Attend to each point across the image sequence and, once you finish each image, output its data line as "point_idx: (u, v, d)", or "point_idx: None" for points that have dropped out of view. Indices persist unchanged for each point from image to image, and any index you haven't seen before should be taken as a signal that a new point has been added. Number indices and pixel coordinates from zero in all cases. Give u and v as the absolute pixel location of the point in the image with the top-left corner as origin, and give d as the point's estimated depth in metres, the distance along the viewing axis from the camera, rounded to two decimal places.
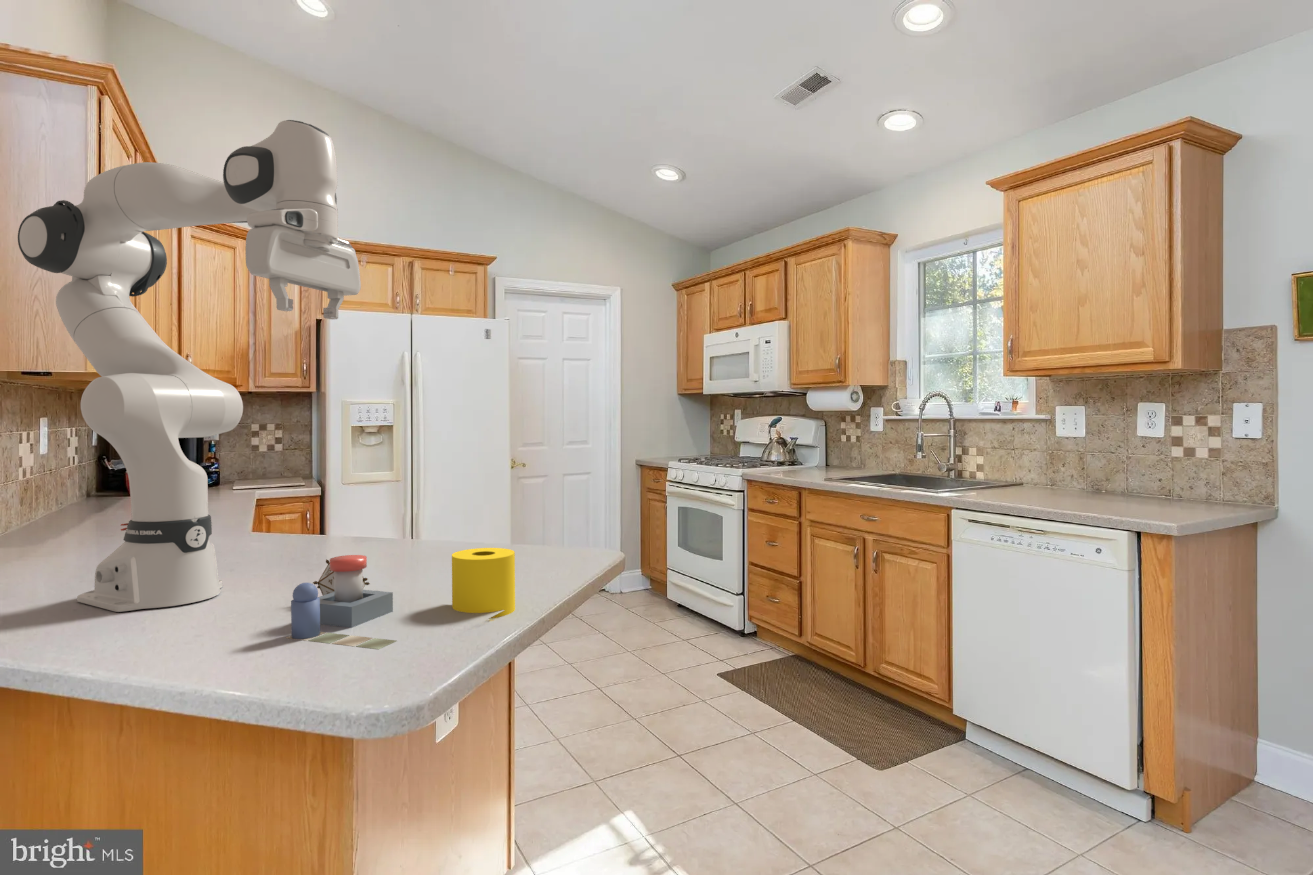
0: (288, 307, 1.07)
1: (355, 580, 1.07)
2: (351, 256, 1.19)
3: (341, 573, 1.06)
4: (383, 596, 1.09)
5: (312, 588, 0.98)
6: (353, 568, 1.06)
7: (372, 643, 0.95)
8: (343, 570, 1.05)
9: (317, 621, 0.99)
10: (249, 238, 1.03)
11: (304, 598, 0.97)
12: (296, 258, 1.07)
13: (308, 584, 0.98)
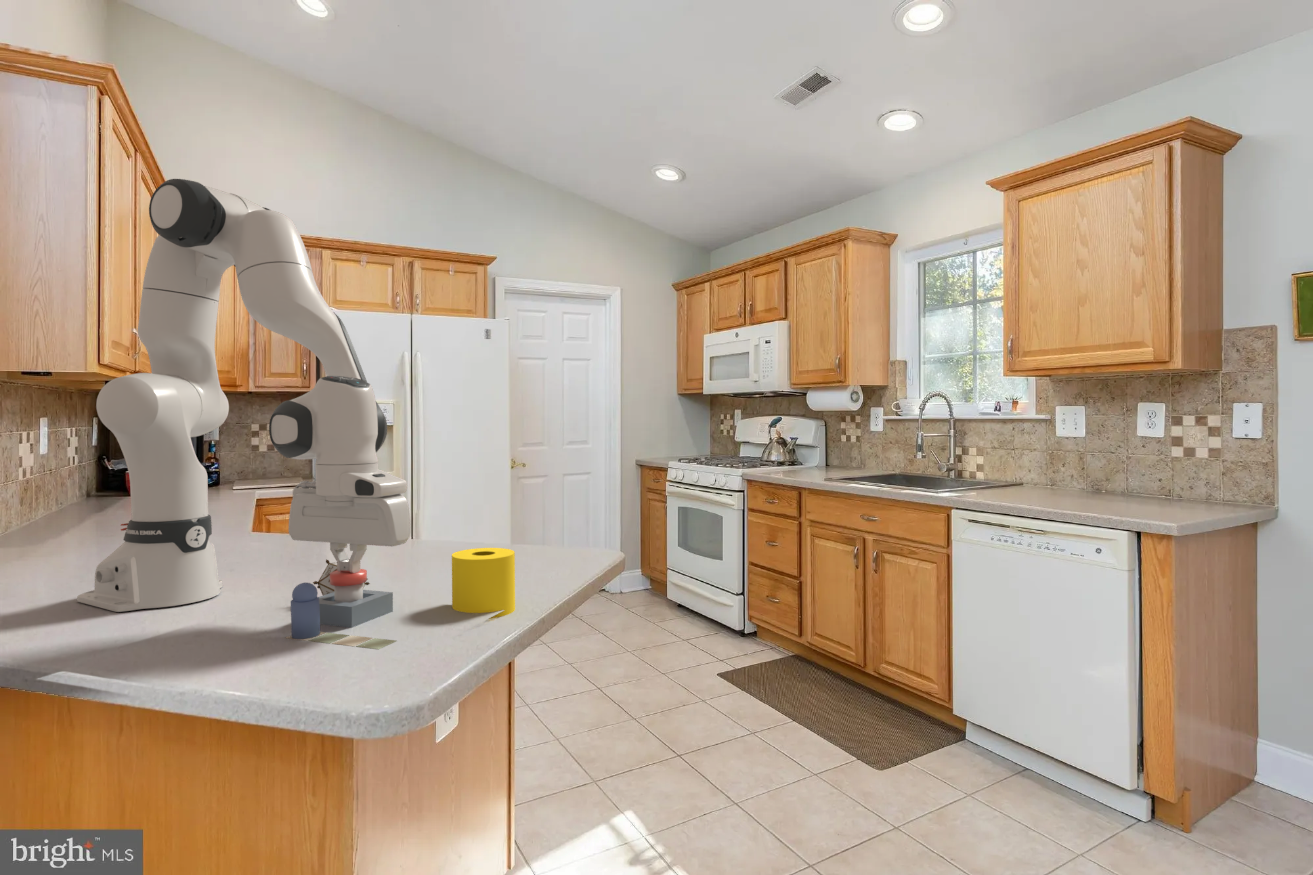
0: None
1: (355, 594, 1.07)
2: None
3: (341, 587, 1.06)
4: (383, 596, 1.09)
5: (311, 587, 0.98)
6: (353, 582, 1.06)
7: (372, 643, 0.95)
8: (343, 584, 1.05)
9: (317, 621, 0.98)
10: (394, 511, 1.03)
11: (303, 599, 0.97)
12: None
13: (307, 584, 0.98)
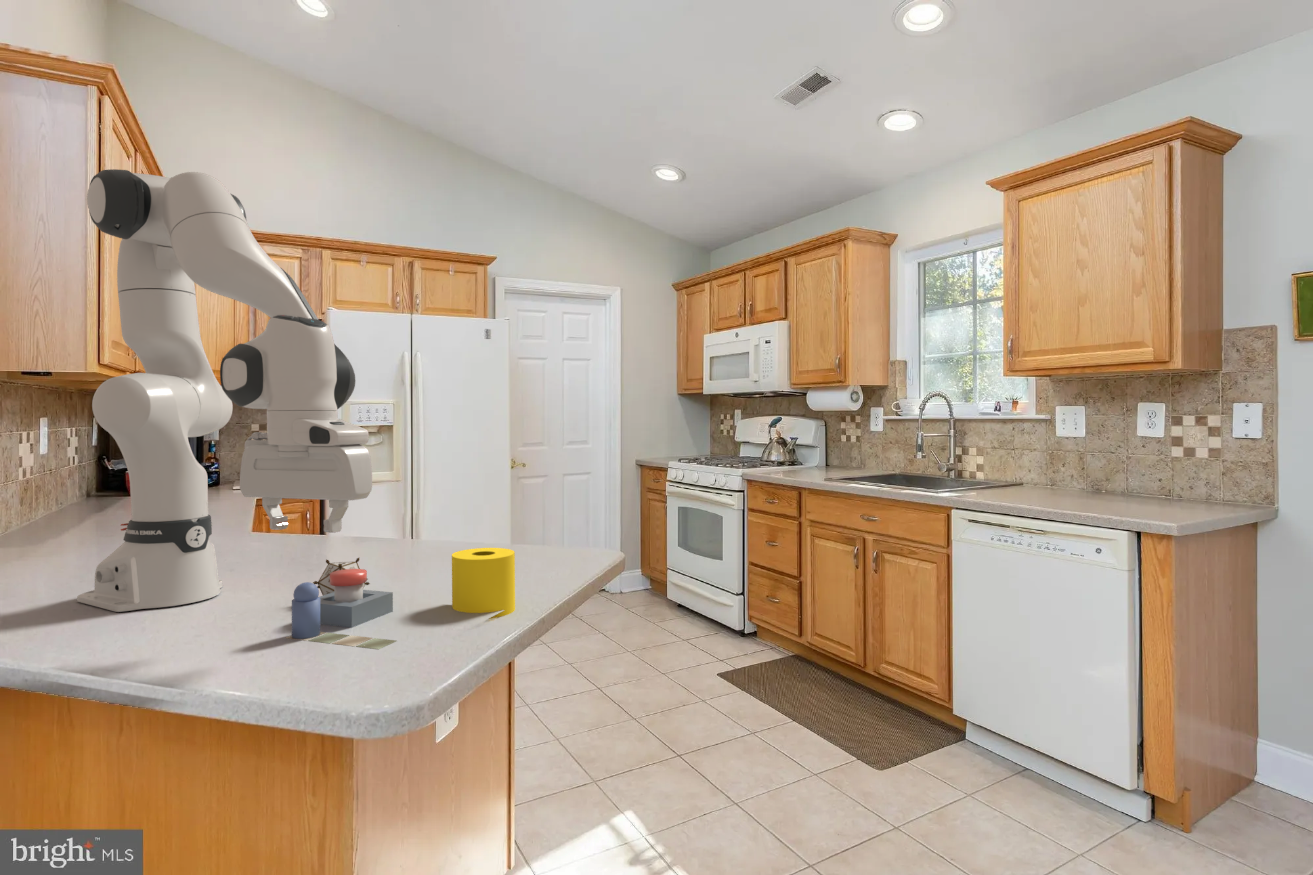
0: None
1: (355, 594, 1.07)
2: None
3: (341, 588, 1.06)
4: (383, 596, 1.09)
5: (313, 587, 0.98)
6: (353, 583, 1.06)
7: (372, 643, 0.95)
8: (343, 585, 1.05)
9: (317, 621, 0.98)
10: (352, 461, 0.94)
11: (304, 598, 0.97)
12: None
13: (309, 584, 0.98)
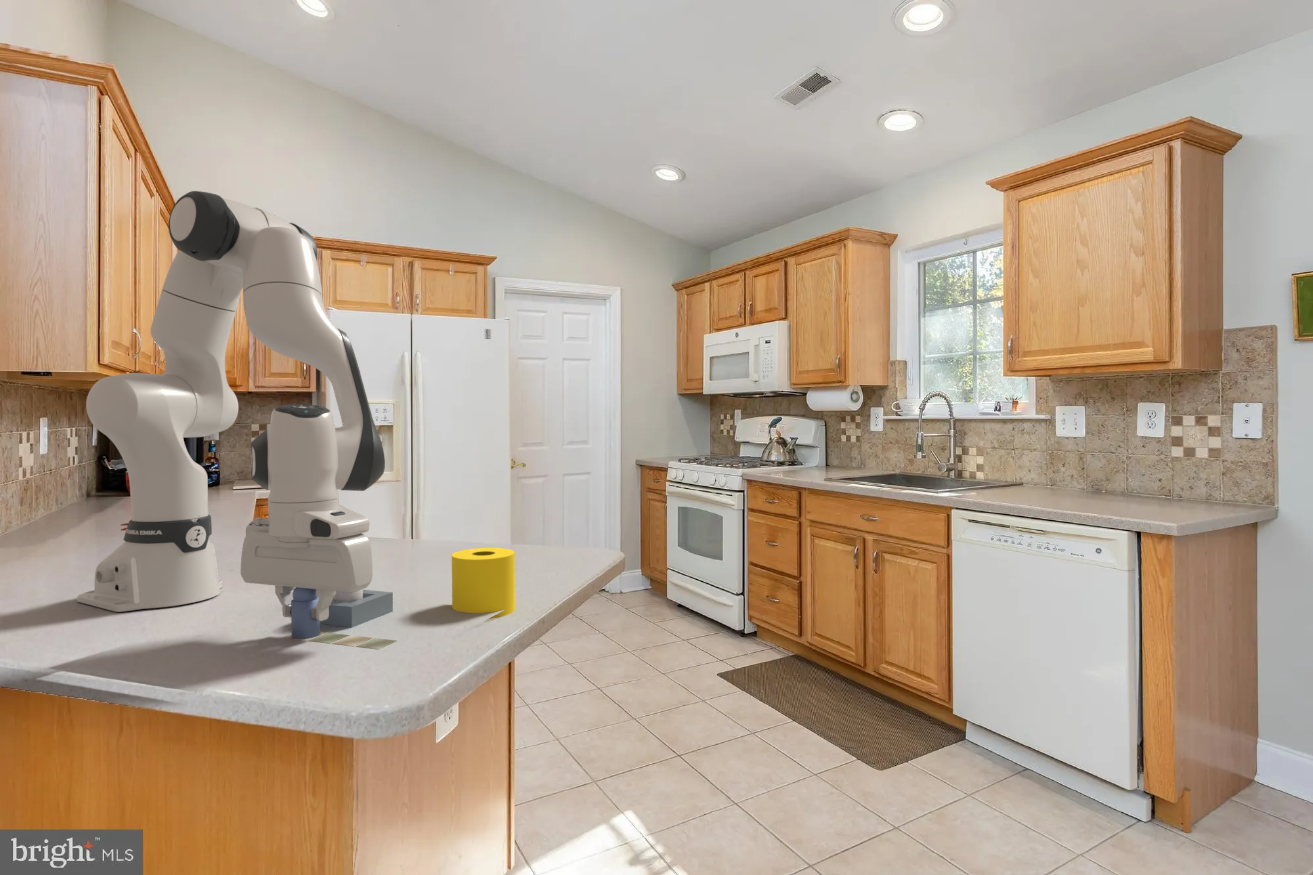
0: None
1: (355, 594, 1.07)
2: None
3: None
4: (383, 596, 1.09)
5: None
6: None
7: (372, 643, 0.95)
8: None
9: (317, 621, 0.98)
10: (353, 553, 0.94)
11: (303, 598, 0.97)
12: None
13: None
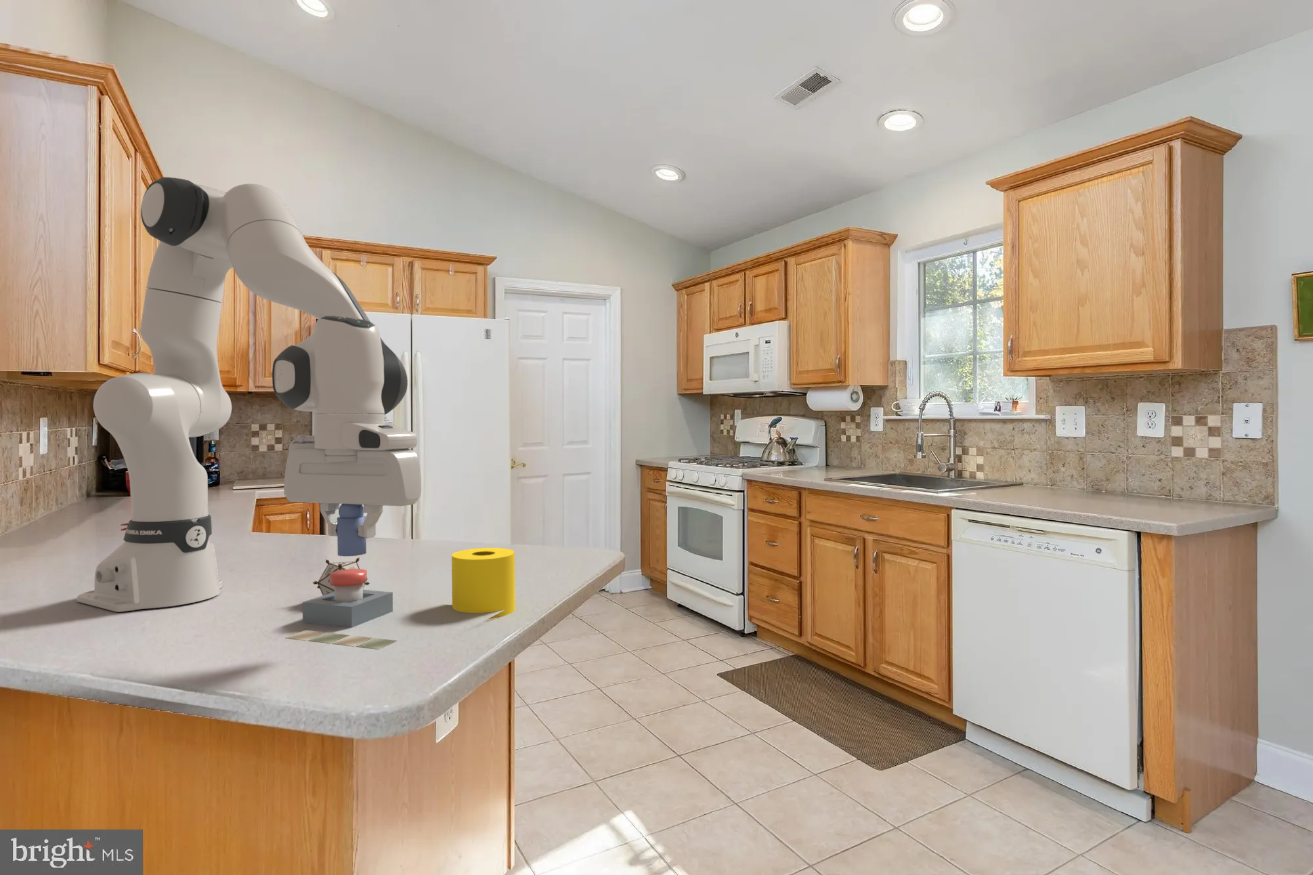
0: None
1: (355, 594, 1.07)
2: None
3: (341, 588, 1.06)
4: (383, 596, 1.09)
5: (358, 504, 0.95)
6: (353, 583, 1.06)
7: (372, 643, 0.95)
8: (343, 585, 1.05)
9: (363, 539, 0.96)
10: (403, 466, 0.91)
11: (350, 515, 0.94)
12: None
13: None
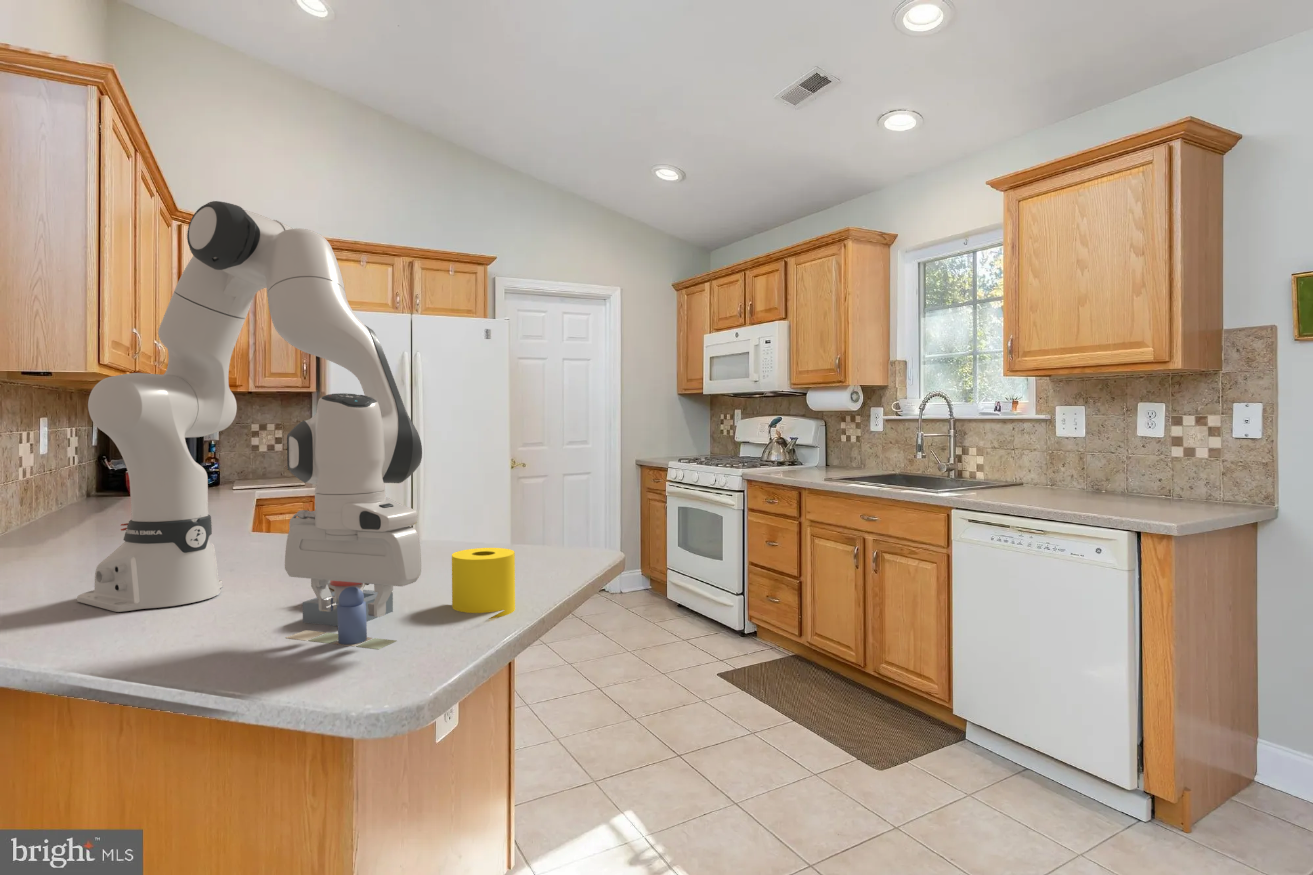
0: None
1: None
2: None
3: (341, 588, 1.06)
4: None
5: (358, 592, 0.96)
6: (353, 583, 1.06)
7: (372, 643, 0.95)
8: (343, 585, 1.05)
9: (363, 626, 0.96)
10: (403, 546, 0.92)
11: (350, 603, 0.95)
12: None
13: (354, 588, 0.96)
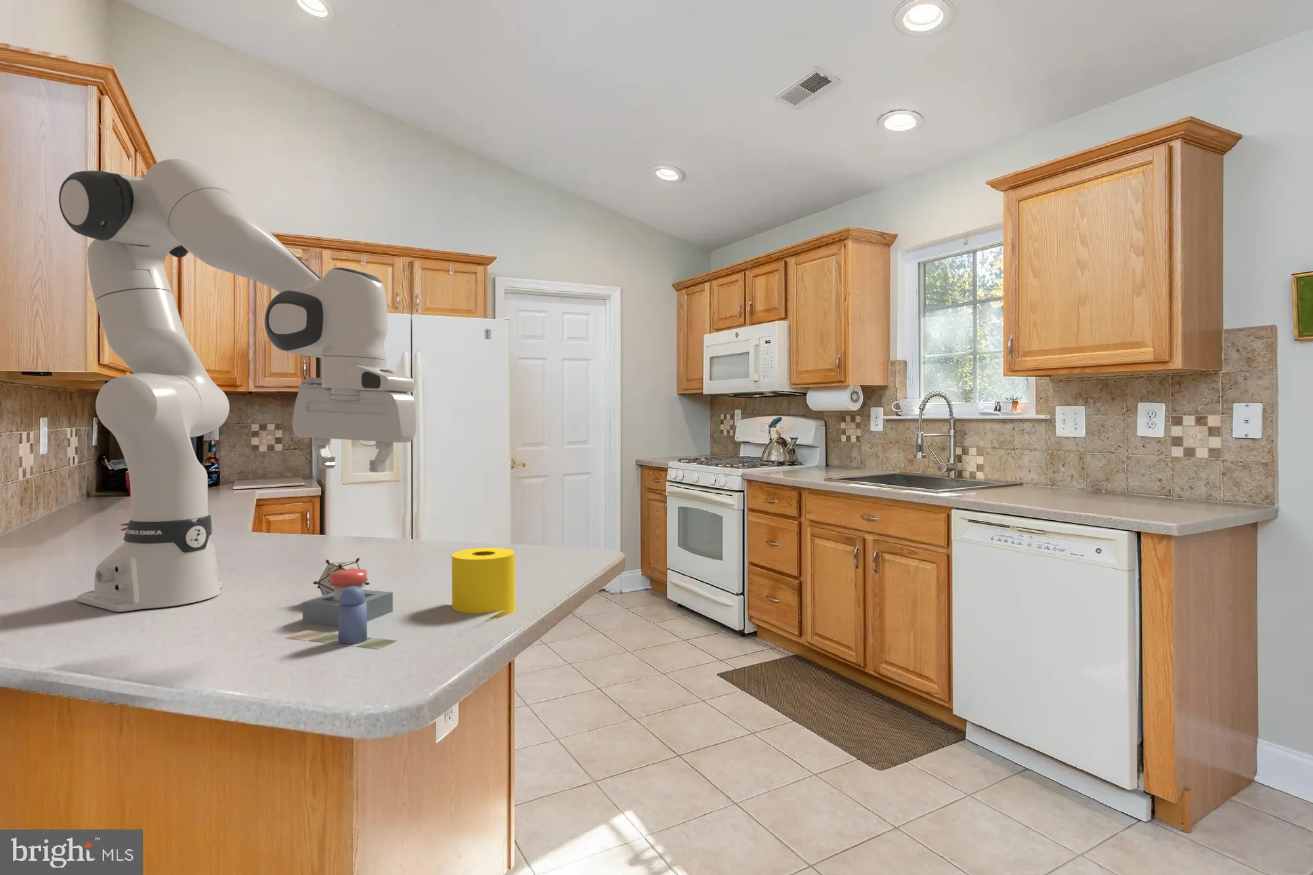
0: None
1: None
2: None
3: (341, 588, 1.06)
4: (383, 596, 1.09)
5: (359, 591, 0.96)
6: (353, 583, 1.06)
7: (372, 643, 0.95)
8: (343, 585, 1.05)
9: (364, 626, 0.96)
10: (400, 406, 1.01)
11: (351, 602, 0.95)
12: None
13: (355, 588, 0.96)
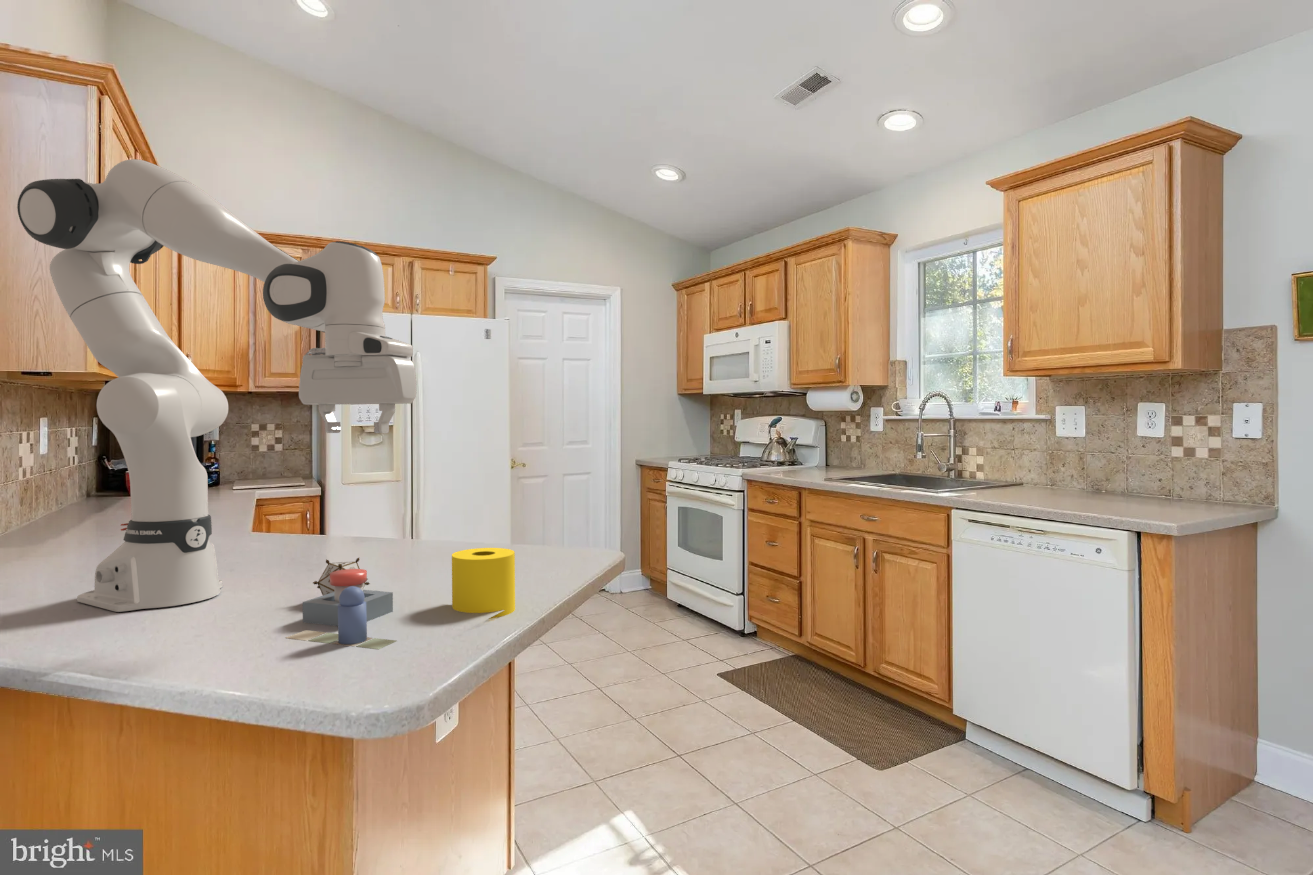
0: None
1: None
2: None
3: (341, 588, 1.06)
4: (383, 596, 1.09)
5: (358, 591, 0.96)
6: (353, 583, 1.06)
7: (372, 643, 0.95)
8: (343, 585, 1.05)
9: (363, 626, 0.96)
10: (400, 368, 1.08)
11: (350, 603, 0.95)
12: None
13: (354, 588, 0.96)
